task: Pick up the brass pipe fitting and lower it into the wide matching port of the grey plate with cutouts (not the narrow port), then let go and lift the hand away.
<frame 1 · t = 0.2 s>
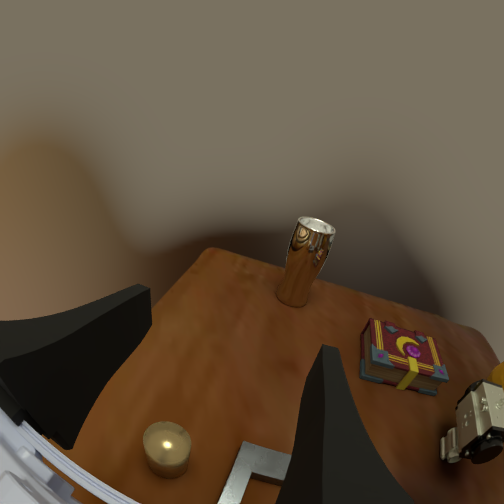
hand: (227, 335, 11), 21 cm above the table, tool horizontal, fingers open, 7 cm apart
apple: (485, 408, 32), on the table
decorative book: (398, 367, 41), on the table
beer glass: (291, 298, 53), on the table
white security camera: (444, 451, 25), on the table
brass fitting: (167, 461, 21), on the table
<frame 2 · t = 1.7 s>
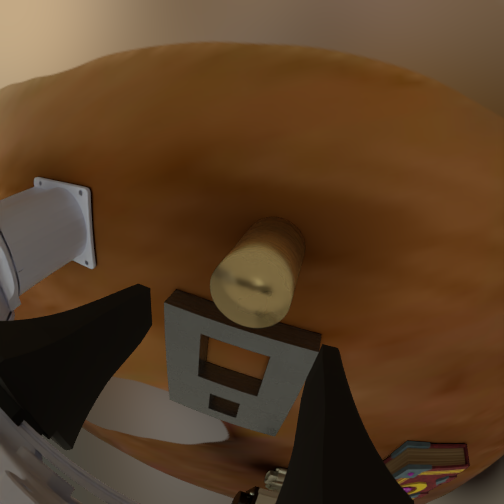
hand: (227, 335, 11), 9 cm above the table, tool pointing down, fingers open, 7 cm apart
decorative book: (406, 464, 27), on the table
grey plate with cutouts: (234, 368, 25), on the table
white security camera: (287, 470, 33), on the table
brass fitting: (274, 246, 19), on the table
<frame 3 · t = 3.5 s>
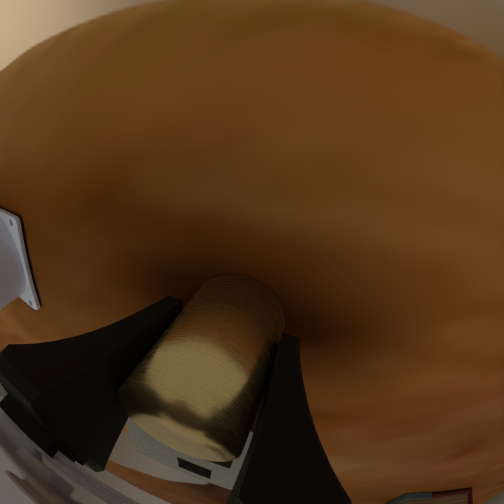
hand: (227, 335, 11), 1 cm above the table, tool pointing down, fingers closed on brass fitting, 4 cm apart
grey plate with cutouts: (204, 434, 18), on the table
brass fitting: (239, 314, 12), on the table, touching gripper
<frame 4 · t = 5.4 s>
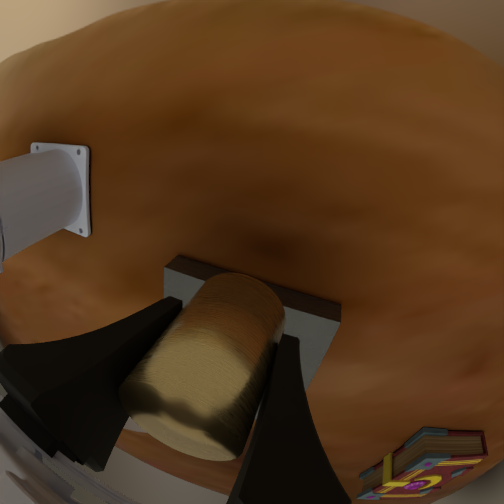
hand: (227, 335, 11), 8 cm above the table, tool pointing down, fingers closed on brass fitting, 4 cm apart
decorative book: (418, 456, 25), on the table
grey plate with cutouts: (240, 349, 23), on the table
brass fitting: (239, 314, 12), point 7 cm above the table, touching gripper
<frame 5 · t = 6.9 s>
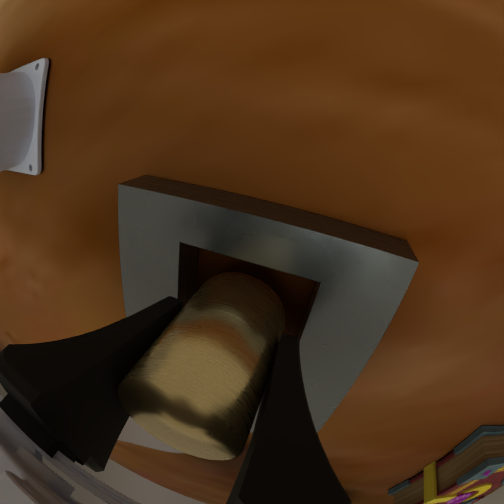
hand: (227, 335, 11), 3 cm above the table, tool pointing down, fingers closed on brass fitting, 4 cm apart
decorative book: (461, 462, 17), on the table
grey plate with cutouts: (242, 330, 15), on the table
brass fitting: (239, 313, 12), point 2 cm above the table, touching gripper
when the fingers open (3 cm above the table, at t = 7.8 s): brass fitting drops 1 cm, resting in grey plate with cutouts.
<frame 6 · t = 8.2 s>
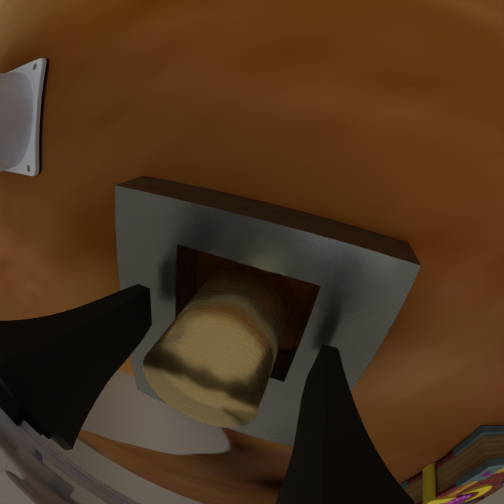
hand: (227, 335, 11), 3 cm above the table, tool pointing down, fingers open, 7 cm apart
decorative book: (461, 463, 16), on the table
grey plate with cutouts: (241, 333, 14), on the table
brass fitting: (249, 295, 13), resting in grey plate with cutouts
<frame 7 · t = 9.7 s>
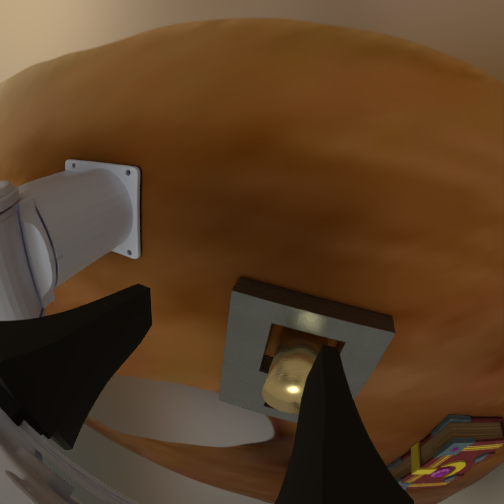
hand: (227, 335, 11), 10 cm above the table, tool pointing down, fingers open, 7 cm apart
decorative book: (442, 445, 25), on the table
grey plate with cutouts: (296, 360, 24), on the table
brass fitting: (303, 341, 22), resting in grey plate with cutouts
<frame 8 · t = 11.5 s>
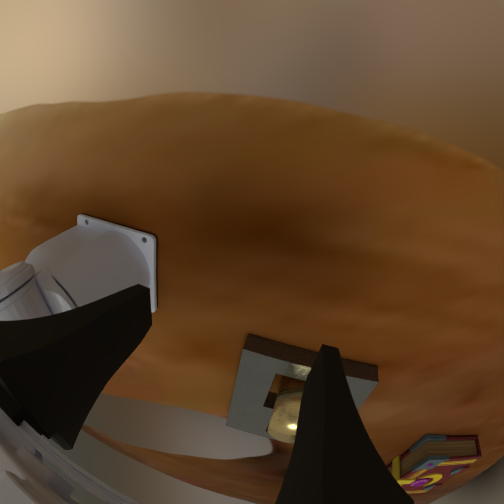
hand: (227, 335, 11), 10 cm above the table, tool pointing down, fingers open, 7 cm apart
decorative book: (421, 457, 28), on the table
grey plate with cutouts: (294, 396, 26), on the table
brass fitting: (301, 382, 25), resting in grey plate with cutouts
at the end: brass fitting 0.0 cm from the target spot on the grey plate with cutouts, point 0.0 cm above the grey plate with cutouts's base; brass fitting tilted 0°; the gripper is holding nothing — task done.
